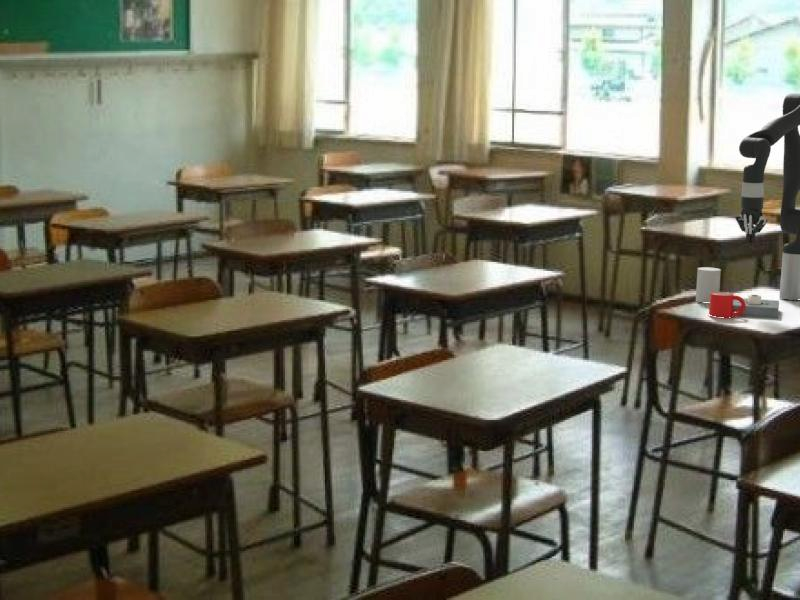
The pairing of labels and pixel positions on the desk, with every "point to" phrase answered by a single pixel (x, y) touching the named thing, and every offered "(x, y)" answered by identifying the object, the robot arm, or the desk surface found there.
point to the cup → (707, 283)
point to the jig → (758, 308)
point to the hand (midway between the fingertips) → (750, 244)
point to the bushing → (754, 299)
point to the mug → (724, 304)
